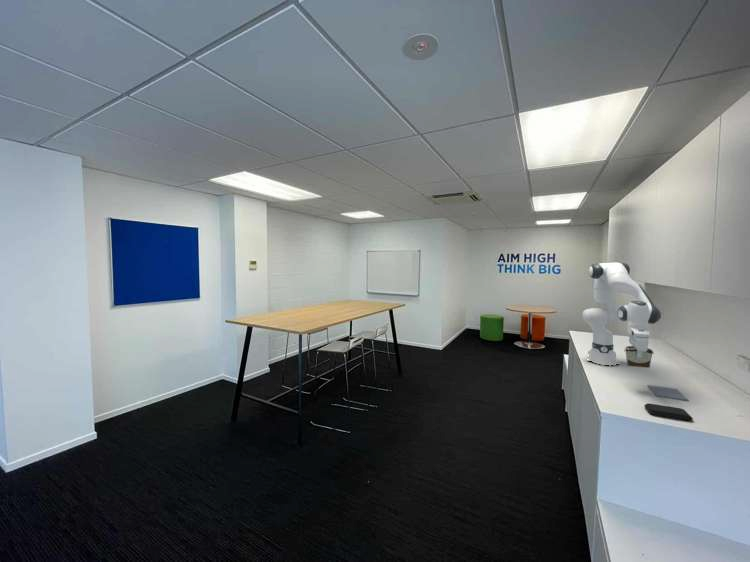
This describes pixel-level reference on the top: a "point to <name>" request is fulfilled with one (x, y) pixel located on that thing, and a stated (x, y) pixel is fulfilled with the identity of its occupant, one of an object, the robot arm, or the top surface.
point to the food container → (636, 361)
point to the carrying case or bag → (668, 412)
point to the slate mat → (667, 393)
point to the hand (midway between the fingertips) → (637, 355)
